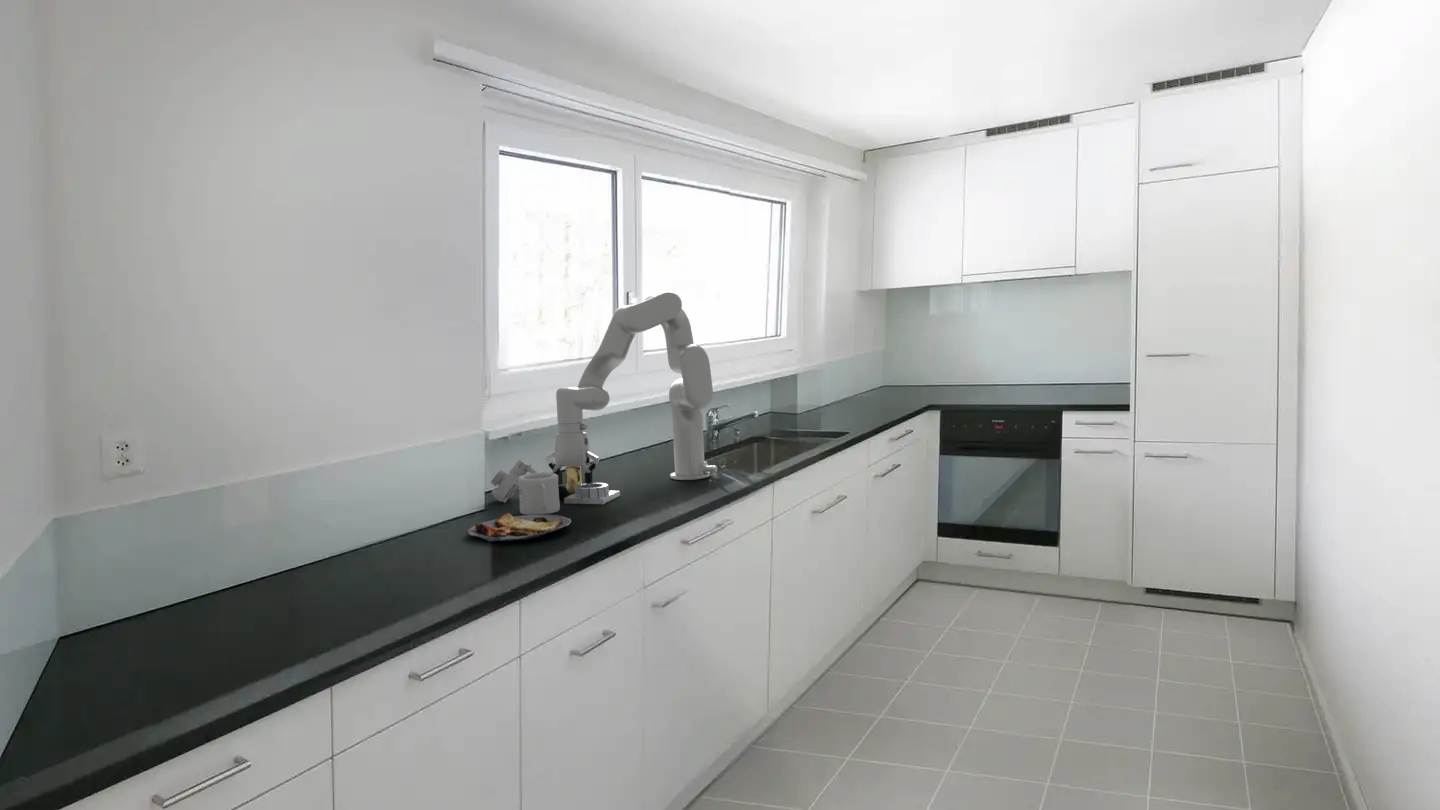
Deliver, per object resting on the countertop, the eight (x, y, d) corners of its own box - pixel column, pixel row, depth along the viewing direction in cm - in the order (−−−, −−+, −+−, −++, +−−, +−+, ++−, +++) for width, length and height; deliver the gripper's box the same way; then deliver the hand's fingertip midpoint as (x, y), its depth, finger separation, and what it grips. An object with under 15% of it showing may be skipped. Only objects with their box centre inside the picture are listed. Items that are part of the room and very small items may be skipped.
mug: (516, 510, 268) (514, 474, 267) (555, 506, 272) (553, 470, 271) (526, 519, 255) (523, 482, 254) (566, 514, 259) (564, 477, 258)
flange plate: (620, 495, 282) (619, 482, 282) (603, 504, 271) (602, 490, 271) (582, 495, 286) (581, 481, 286) (564, 503, 275) (563, 489, 274)
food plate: (448, 540, 236) (447, 526, 236) (514, 520, 256) (513, 507, 256) (525, 549, 224) (524, 534, 223) (588, 527, 243) (587, 514, 243)
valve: (535, 536, 278) (566, 496, 275) (480, 493, 277) (510, 454, 274) (545, 525, 288) (574, 487, 285) (491, 484, 287) (520, 446, 284)
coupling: (584, 490, 294) (583, 465, 293) (578, 493, 289) (576, 468, 289) (570, 490, 295) (569, 465, 294) (564, 492, 291) (562, 468, 290)
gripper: (602, 426, 291) (605, 483, 293) (550, 427, 296) (553, 482, 298) (591, 430, 284) (595, 487, 286) (538, 430, 289) (542, 486, 291)
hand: (573, 484), depth 292 cm, fingers open, 9 cm apart
